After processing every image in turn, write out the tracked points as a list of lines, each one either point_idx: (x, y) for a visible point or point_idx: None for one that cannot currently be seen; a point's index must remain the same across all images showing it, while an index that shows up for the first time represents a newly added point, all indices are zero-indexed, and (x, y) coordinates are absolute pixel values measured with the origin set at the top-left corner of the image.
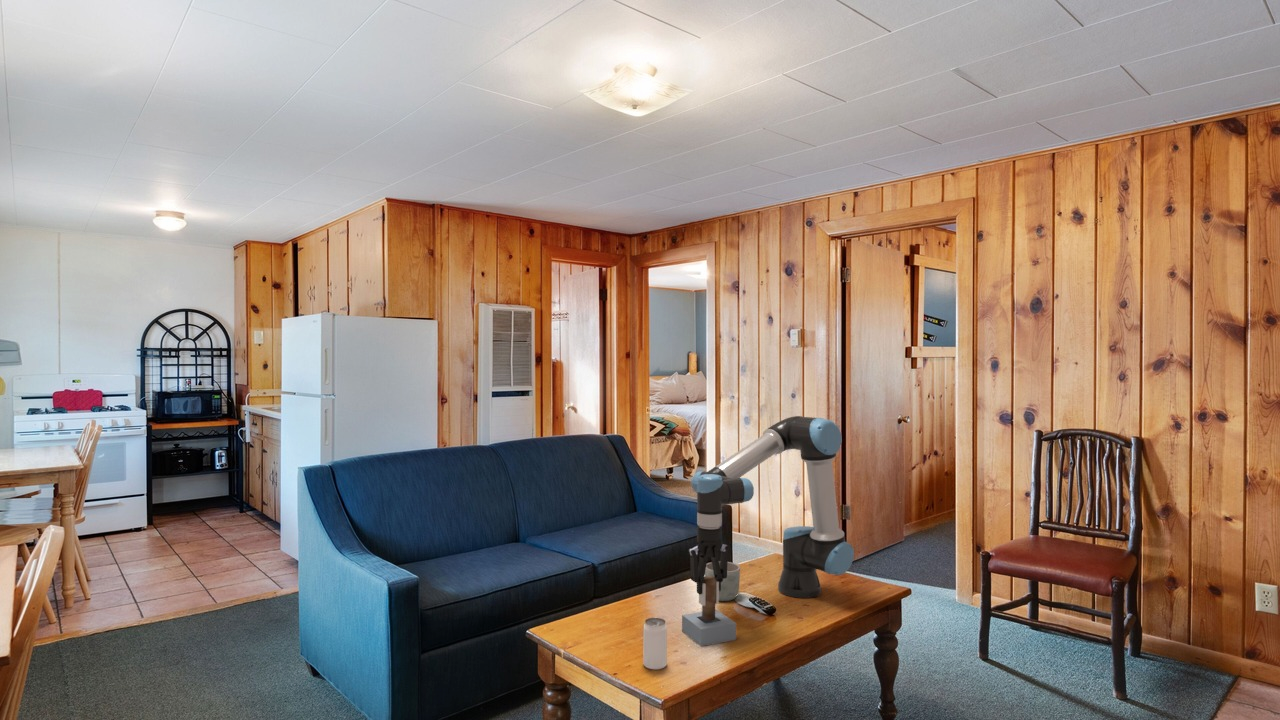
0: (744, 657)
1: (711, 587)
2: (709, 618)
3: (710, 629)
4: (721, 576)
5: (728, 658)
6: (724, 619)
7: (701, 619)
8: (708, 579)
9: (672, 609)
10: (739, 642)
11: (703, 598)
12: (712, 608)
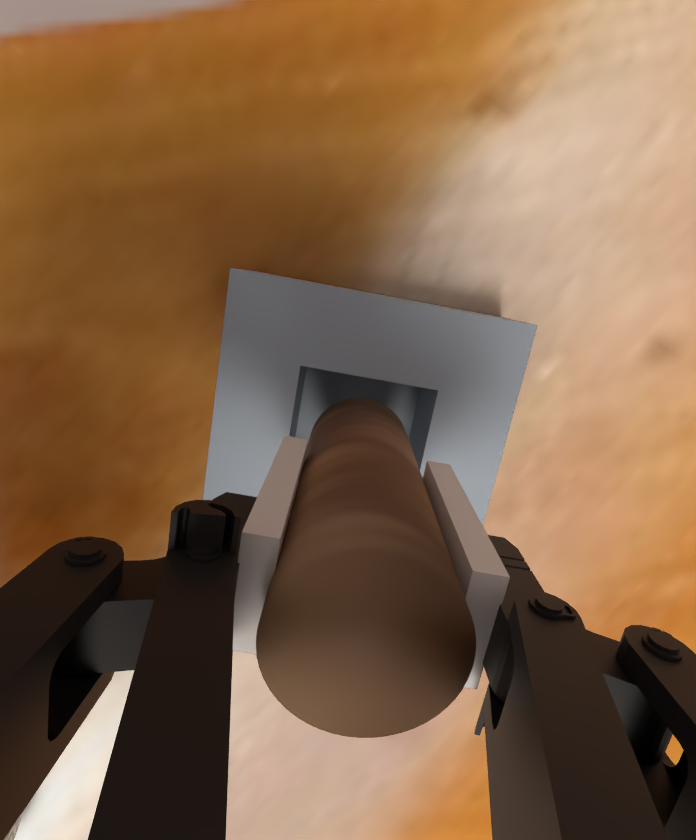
0: (389, 13)
1: (391, 504)
2: (386, 409)
3: (454, 309)
4: (142, 591)
5: (487, 67)
6: (263, 373)
7: None
8: (412, 613)
9: (294, 777)
10: (261, 226)
11: (462, 490)
12: (366, 420)
